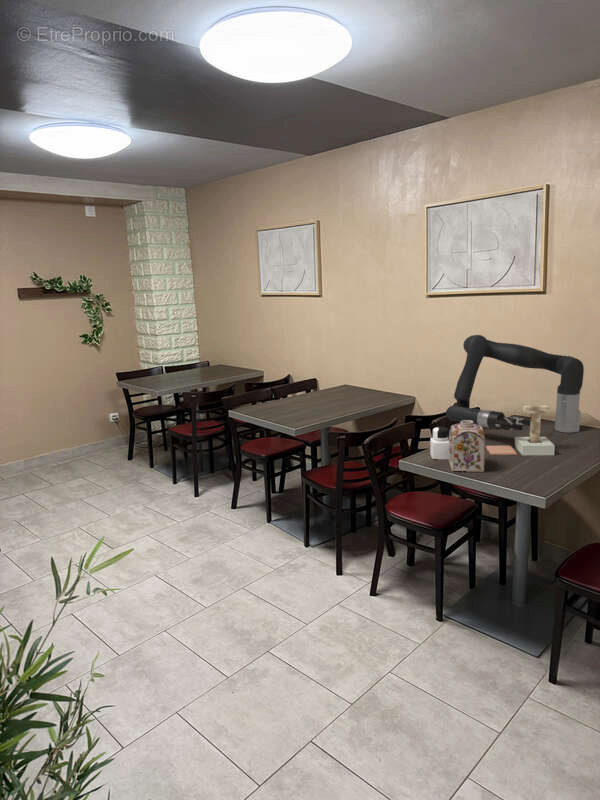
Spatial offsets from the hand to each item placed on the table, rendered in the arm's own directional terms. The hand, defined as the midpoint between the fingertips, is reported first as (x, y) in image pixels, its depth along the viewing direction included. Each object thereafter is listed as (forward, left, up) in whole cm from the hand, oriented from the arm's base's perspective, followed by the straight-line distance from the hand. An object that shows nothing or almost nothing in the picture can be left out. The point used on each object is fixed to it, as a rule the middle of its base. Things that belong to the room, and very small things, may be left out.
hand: (527, 425), depth 225 cm
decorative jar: (+28, +21, -10) cm, 36 cm away
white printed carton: (+36, +9, -10) cm, 38 cm away
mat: (+11, +2, -10) cm, 15 cm away
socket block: (-2, +2, -10) cm, 10 cm away
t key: (-2, +2, -10) cm, 10 cm away
